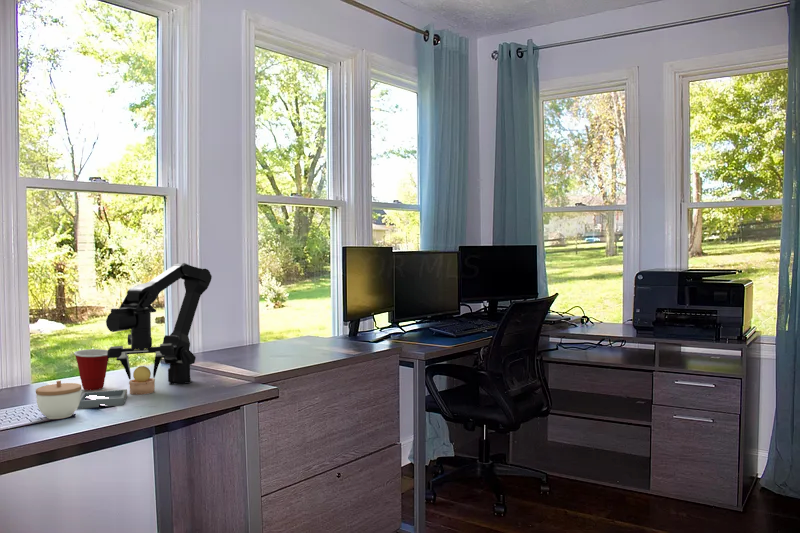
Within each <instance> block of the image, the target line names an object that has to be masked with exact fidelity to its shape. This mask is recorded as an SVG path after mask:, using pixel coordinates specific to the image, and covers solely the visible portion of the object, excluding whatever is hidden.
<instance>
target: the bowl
mask: <svg viewBox="0 0 800 533" xmlns="http://www.w3.org/2000/svg"><path fill="white" fill-rule="evenodd" d="M155 380H156V379H155V378H151V377H150V378H149V379H148V380H147V381H146V382H137V381H136V380H135V379H134V378H133V379H130V380H129V382H128V385H129V395H133V396H134V395H136V396H138V395H142V396H143V395H149V394H152V393H154V392H156V390H155V389H156V385H155V384H156V383H155Z"/></svg>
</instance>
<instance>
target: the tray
mask: <svg viewBox="0 0 800 533" xmlns="http://www.w3.org/2000/svg"><path fill="white" fill-rule="evenodd" d="M89 395H97V396H105V397H109V399H96V400H85V397H86V396H89ZM127 398H128V389H114V390H111V389H110V390H98V391H97V390H96V391H86V392H81V400H80V404H79V406H78V408H77V410H78V409H79V410H80V409H90V408H100V407H99V405H100V404H105V405H108V406H107V407H115V406H116V407H117V406H124V405H125V403H126V400H127Z"/></svg>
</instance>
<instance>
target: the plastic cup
mask: <svg viewBox="0 0 800 533" xmlns="http://www.w3.org/2000/svg"><path fill="white" fill-rule="evenodd" d="M107 352H108V349H102V348H100V349H99V348H97V349H96V348H93V349H92V348H91V349H89V348H88V349H80V350H76V351H74V352H73V355H74V356H75V359H76V363H77V367H78V372H79V377H80V381H81V388H83V390H84V391H97V390H98V391H99V390H102V389H103V388H104V386H105V381H106V375H107V368H108V362H109V359H110V358H108V356H107Z"/></svg>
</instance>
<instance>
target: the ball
mask: <svg viewBox="0 0 800 533" xmlns="http://www.w3.org/2000/svg"><path fill="white" fill-rule="evenodd" d="M132 373H133V374H132V375H133V376H132V377H133V380H134V379H135V380H136V381H137V382H146V381H147V380H148V379H149V378H151V370H150V368H149V367H147V366H145V365H140V366H138V367H136V368H135V369H134V371H133V372H132Z"/></svg>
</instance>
